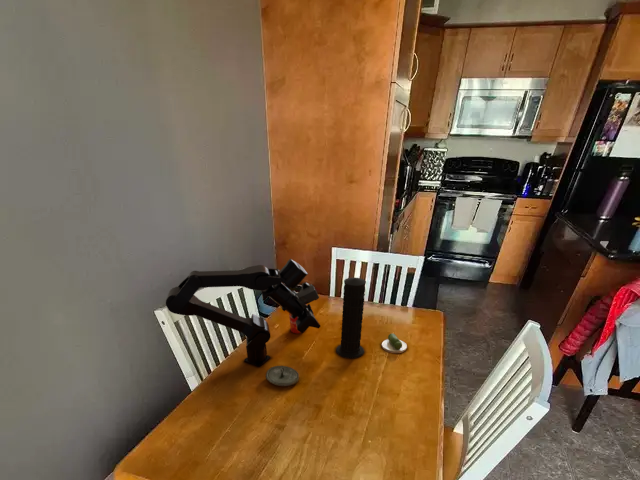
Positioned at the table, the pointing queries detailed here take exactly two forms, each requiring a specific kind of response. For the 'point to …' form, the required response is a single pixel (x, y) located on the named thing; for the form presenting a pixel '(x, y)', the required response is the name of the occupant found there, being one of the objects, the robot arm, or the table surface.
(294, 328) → the paper cup
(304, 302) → the robot arm
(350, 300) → the handle grip
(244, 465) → the table surface
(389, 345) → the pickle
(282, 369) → the lid
